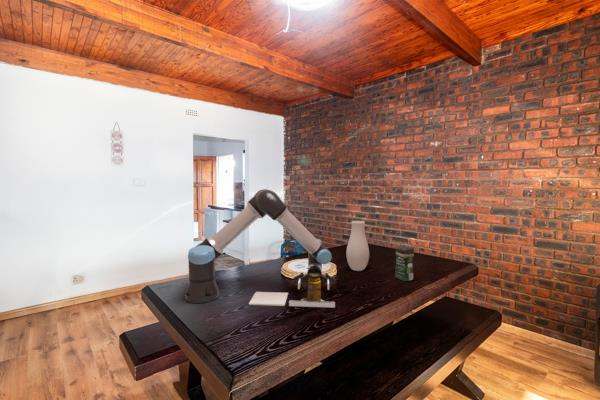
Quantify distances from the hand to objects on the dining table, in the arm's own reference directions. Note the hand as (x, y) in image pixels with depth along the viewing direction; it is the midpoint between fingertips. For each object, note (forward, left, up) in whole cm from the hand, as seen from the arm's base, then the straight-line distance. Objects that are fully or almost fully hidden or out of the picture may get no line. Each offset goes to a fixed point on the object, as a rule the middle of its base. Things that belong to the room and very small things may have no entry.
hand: (313, 286), depth 137 cm
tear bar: (-1, -7, -6) cm, 9 cm away
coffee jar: (+49, +33, -7) cm, 60 cm away
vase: (+25, +48, -7) cm, 55 cm away
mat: (-21, 0, -6) cm, 21 cm away
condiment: (-1, 0, -7) cm, 7 cm away
